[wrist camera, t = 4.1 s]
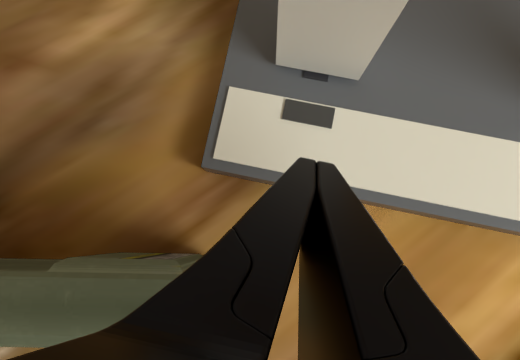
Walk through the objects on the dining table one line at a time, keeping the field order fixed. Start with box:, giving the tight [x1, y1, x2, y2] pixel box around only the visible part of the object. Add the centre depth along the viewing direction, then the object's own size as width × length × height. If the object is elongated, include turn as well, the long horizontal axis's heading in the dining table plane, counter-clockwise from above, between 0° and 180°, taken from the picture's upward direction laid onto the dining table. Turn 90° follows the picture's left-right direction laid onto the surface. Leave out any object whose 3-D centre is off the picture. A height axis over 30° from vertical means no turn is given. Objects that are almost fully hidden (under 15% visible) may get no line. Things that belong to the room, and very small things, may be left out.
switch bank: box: [201, 0, 520, 236], centre depth 18 cm, size 14×22×2 cm, turn 78°
